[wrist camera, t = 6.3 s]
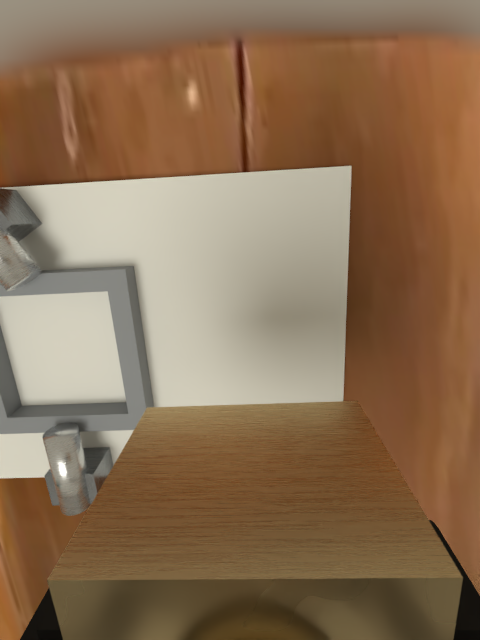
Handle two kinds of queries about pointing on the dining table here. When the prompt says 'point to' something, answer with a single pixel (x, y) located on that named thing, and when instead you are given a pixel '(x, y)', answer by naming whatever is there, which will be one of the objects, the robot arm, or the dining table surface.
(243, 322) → the board
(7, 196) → the shaft
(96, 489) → the shaft
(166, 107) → the dining table surface
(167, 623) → the block
